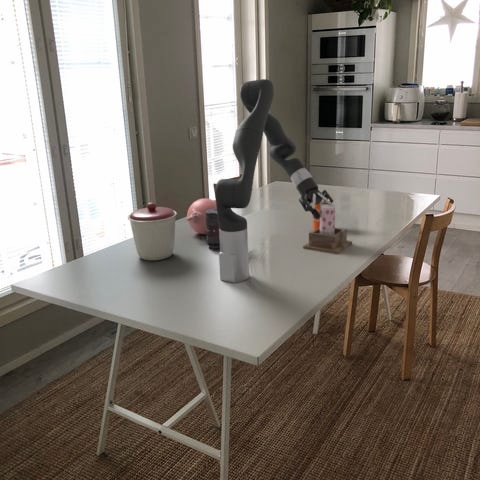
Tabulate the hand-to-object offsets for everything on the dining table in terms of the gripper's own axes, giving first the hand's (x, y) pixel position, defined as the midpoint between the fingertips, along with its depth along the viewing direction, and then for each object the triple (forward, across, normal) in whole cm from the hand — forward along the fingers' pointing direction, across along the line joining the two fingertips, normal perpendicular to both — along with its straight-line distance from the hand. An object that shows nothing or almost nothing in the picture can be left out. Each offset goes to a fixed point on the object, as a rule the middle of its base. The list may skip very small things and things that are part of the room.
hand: (326, 215), depth 199 cm
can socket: (+9, 0, +8) cm, 12 cm away
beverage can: (+8, 0, +7) cm, 11 cm away
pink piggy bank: (-25, -24, +42) cm, 55 cm away
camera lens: (-12, -31, +29) cm, 44 cm away
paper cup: (-3, +16, +20) cm, 26 cm away
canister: (-19, -53, +36) cm, 67 cm away
